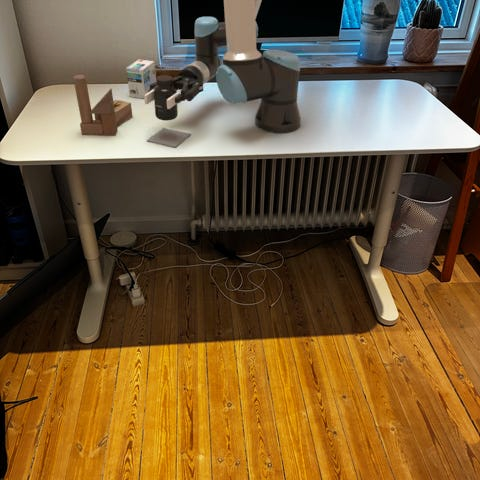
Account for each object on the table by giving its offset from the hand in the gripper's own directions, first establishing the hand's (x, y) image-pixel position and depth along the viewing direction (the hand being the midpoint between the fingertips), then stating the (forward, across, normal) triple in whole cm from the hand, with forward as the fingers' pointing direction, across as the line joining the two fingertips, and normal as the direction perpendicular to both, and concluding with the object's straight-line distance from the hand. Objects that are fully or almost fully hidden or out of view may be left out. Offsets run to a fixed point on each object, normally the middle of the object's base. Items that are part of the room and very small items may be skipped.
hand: (156, 102), depth 146 cm
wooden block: (+2, +21, -14) cm, 26 cm away
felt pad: (-4, -1, -14) cm, 14 cm away
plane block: (-7, +22, -14) cm, 27 cm away
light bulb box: (-34, +27, -14) cm, 46 cm away
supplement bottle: (-5, 0, -7) cm, 8 cm away
